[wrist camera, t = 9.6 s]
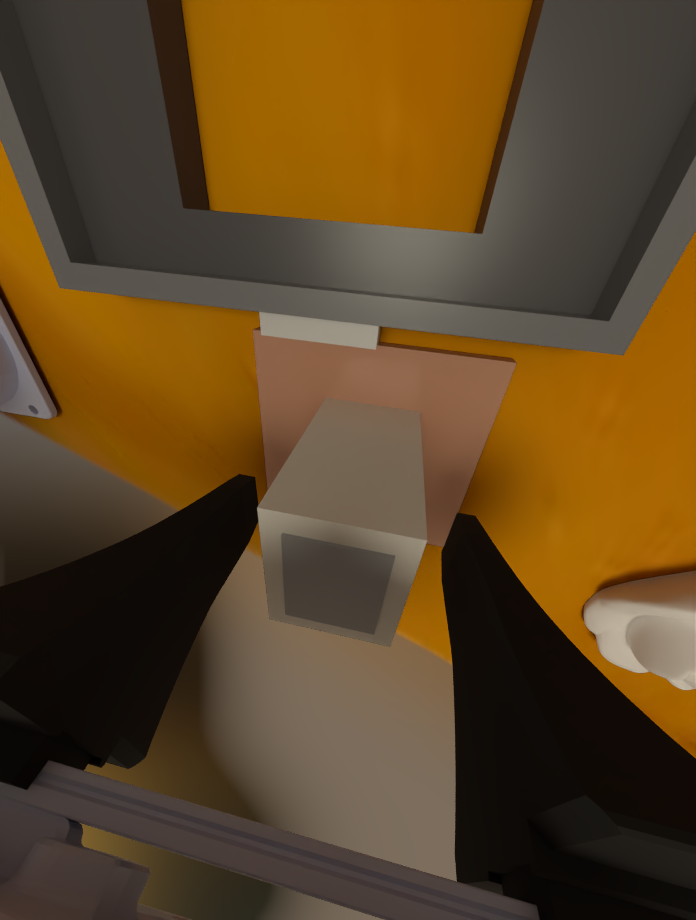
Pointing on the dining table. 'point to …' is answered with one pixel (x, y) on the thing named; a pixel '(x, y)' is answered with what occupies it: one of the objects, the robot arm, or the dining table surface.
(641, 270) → the equipment case
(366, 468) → the block
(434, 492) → the terracotta tile
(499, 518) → the dining table surface
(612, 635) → the rose
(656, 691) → the dining table surface
